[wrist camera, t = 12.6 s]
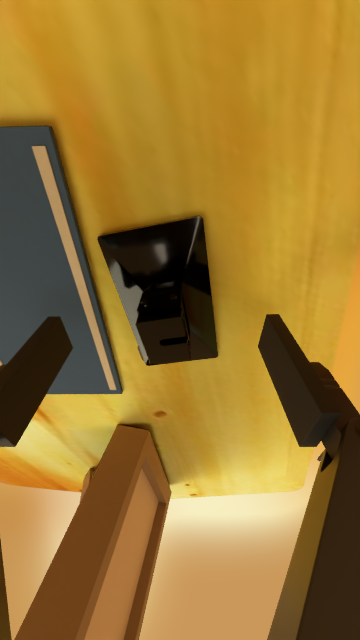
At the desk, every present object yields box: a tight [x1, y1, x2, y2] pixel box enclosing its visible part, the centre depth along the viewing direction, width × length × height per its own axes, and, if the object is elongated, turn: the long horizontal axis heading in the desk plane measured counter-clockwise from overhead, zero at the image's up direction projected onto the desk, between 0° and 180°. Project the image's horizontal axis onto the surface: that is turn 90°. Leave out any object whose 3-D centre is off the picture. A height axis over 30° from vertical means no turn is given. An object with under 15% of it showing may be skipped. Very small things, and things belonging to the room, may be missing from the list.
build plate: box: [98, 216, 218, 366], centre depth 16 cm, size 12×7×5 cm, turn 10°
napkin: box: [0, 126, 123, 394], centre depth 17 cm, size 22×12×1 cm, turn 1°
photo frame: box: [15, 425, 171, 640], centre depth 24 cm, size 15×22×25 cm
